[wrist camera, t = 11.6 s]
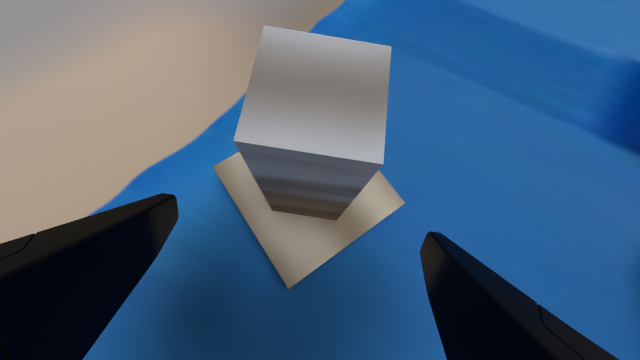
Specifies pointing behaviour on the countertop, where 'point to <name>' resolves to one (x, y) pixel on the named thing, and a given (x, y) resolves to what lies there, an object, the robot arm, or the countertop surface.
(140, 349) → the countertop surface
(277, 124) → the gray square block
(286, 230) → the beige square block
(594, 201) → the countertop surface
